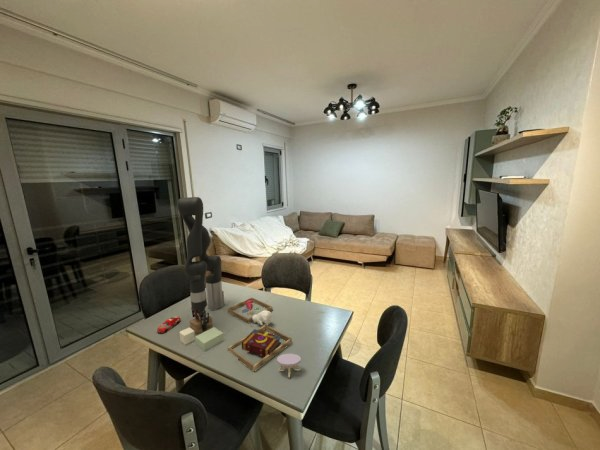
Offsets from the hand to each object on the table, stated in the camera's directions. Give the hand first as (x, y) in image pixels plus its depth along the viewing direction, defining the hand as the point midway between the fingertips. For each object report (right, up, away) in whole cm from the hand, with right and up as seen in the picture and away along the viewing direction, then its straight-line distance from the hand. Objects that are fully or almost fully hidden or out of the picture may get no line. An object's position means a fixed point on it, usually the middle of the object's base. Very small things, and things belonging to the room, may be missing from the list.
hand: (201, 327), depth 129 cm
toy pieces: (+22, +2, +21) cm, 30 cm away
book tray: (+34, -4, -14) cm, 37 cm away
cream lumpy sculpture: (+31, -1, +6) cm, 32 cm away
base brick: (+9, -2, -11) cm, 14 cm away
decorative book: (+34, -4, -14) cm, 37 cm away
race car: (-19, -2, +4) cm, 20 cm away
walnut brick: (0, -1, 0) cm, 1 cm away
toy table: (+48, -7, -27) cm, 56 cm away
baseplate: (+9, -4, -11) cm, 14 cm away
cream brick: (-3, -3, -9) cm, 10 cm away
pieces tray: (+22, +2, +19) cm, 29 cm away
